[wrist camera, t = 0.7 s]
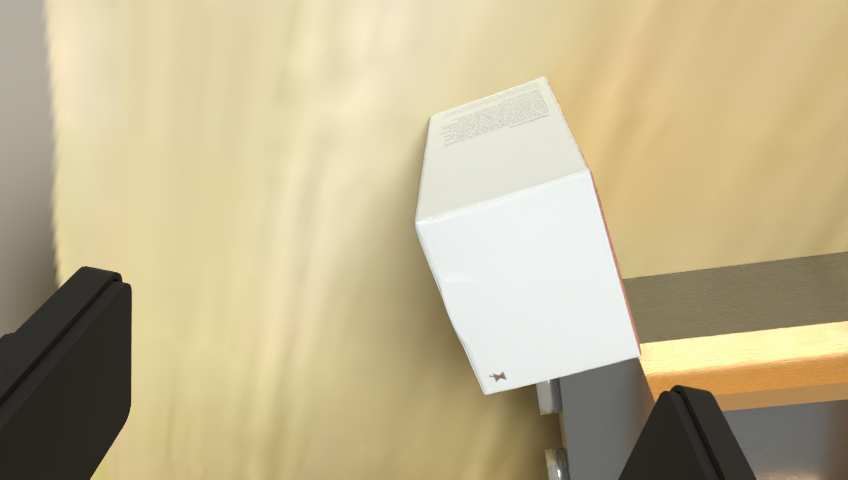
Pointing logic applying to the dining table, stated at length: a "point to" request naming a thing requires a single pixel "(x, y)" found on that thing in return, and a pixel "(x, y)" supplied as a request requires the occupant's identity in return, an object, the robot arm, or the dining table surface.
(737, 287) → the frame
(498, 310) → the small box
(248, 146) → the dining table surface
